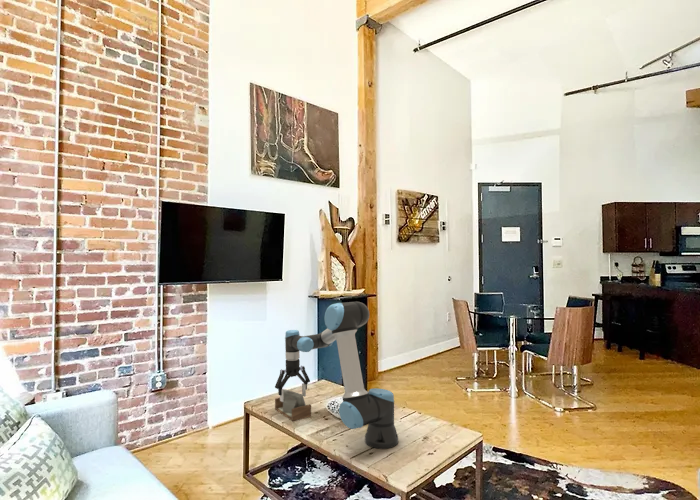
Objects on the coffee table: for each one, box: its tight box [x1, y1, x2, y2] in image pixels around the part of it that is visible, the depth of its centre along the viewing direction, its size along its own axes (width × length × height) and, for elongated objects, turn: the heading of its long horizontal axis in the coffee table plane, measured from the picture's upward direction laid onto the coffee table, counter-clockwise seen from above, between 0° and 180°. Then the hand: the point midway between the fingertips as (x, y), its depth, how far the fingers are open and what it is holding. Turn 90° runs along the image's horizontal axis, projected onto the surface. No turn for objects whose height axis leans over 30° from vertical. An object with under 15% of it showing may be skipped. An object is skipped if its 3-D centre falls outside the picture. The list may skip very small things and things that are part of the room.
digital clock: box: [282, 388, 307, 414], centre depth 222 cm, size 16×9×11 cm, turn 39°
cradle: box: [274, 397, 312, 422], centre depth 222 cm, size 20×11×6 cm, turn 36°
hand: (293, 398), depth 221 cm, fingers open, 13 cm apart
